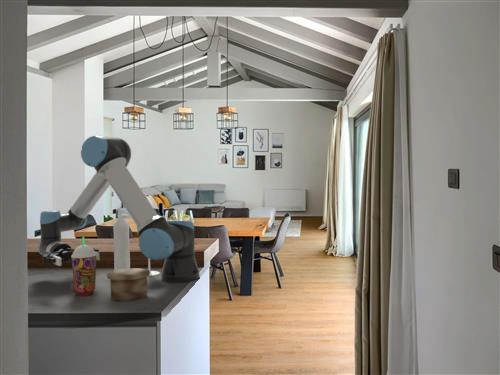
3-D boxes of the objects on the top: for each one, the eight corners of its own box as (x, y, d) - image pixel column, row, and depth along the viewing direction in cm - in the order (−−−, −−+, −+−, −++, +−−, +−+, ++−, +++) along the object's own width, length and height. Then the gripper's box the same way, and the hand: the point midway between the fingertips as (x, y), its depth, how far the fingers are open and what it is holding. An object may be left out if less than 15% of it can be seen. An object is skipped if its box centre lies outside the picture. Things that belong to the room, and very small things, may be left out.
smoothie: (82, 297, 152) (80, 239, 151) (67, 294, 156) (65, 237, 156) (102, 292, 159) (100, 236, 158) (87, 289, 163) (85, 234, 163)
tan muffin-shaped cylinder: (146, 288, 163) (146, 266, 162) (153, 298, 150) (152, 274, 149) (106, 293, 157) (105, 270, 157) (109, 303, 144) (108, 279, 144)
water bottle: (112, 272, 190) (110, 214, 189) (126, 270, 194) (124, 213, 193) (120, 276, 183) (118, 215, 182) (135, 273, 187) (133, 214, 186)
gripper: (91, 256, 183) (113, 264, 167) (25, 266, 167) (43, 275, 151) (90, 238, 183) (112, 244, 167) (24, 246, 166) (42, 253, 151)
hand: (80, 259), depth 159 cm, fingers open, 13 cm apart
